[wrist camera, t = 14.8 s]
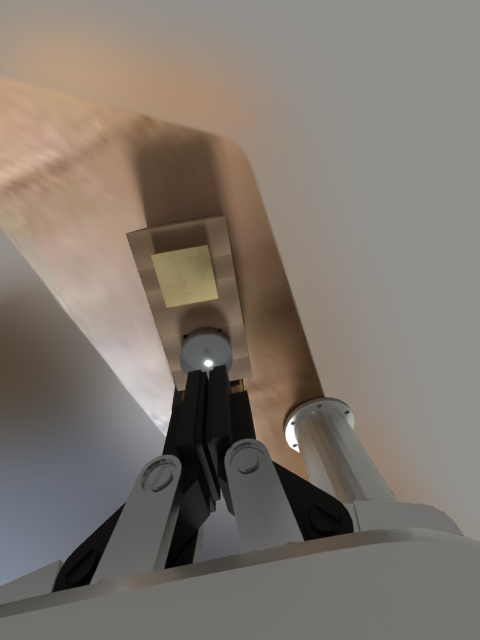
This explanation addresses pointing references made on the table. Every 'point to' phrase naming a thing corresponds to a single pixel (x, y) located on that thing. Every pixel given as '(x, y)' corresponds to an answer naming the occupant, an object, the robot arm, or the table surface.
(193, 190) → the table surface
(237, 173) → the table surface
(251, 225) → the table surface
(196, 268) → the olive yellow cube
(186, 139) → the table surface
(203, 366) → the pin
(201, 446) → the robot arm
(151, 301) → the block
